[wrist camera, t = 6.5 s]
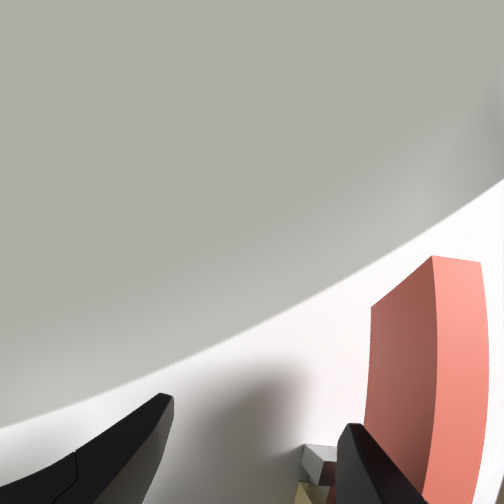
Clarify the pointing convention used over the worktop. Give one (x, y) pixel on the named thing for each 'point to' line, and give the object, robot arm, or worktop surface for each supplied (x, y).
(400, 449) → the lever
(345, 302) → the worktop surface
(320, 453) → the valve body
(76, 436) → the worktop surface
